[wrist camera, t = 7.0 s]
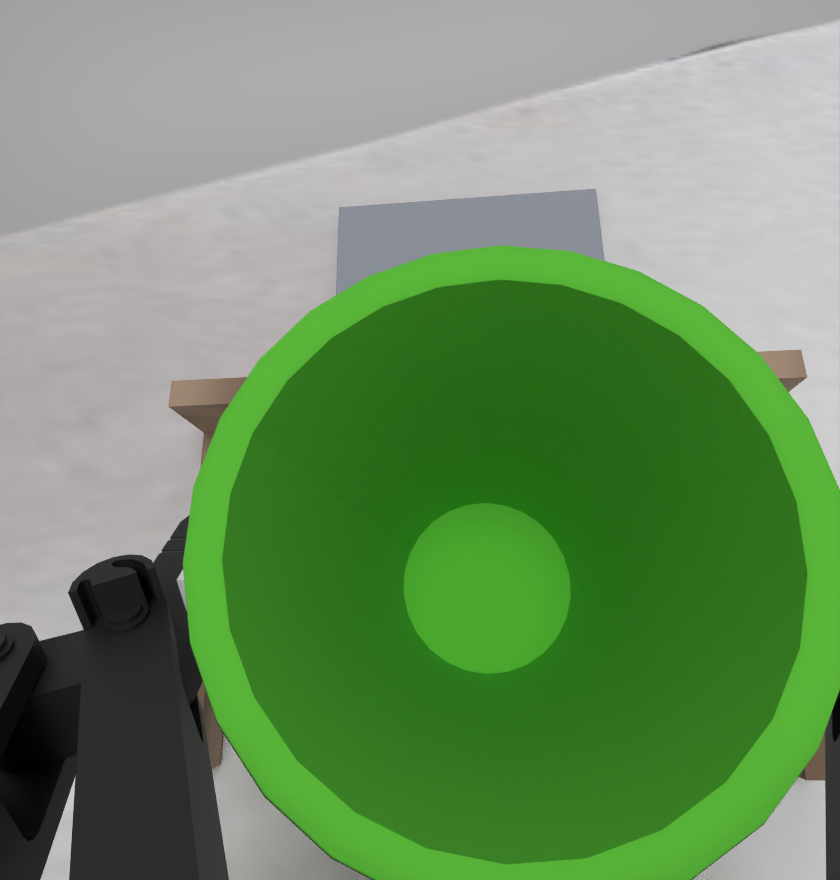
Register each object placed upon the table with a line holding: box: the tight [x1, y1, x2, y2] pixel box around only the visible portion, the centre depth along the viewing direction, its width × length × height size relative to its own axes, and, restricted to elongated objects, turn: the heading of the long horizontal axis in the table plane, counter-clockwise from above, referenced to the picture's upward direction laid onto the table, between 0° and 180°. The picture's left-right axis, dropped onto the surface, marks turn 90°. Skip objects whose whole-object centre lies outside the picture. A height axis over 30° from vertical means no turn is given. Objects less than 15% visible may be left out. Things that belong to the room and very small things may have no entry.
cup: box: [183, 245, 840, 880], centre depth 13 cm, size 9×9×11 cm
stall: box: [169, 350, 825, 780], centre depth 22 cm, size 22×14×5 cm, turn 91°
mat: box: [336, 189, 604, 295], centre depth 28 cm, size 12×10×1 cm
